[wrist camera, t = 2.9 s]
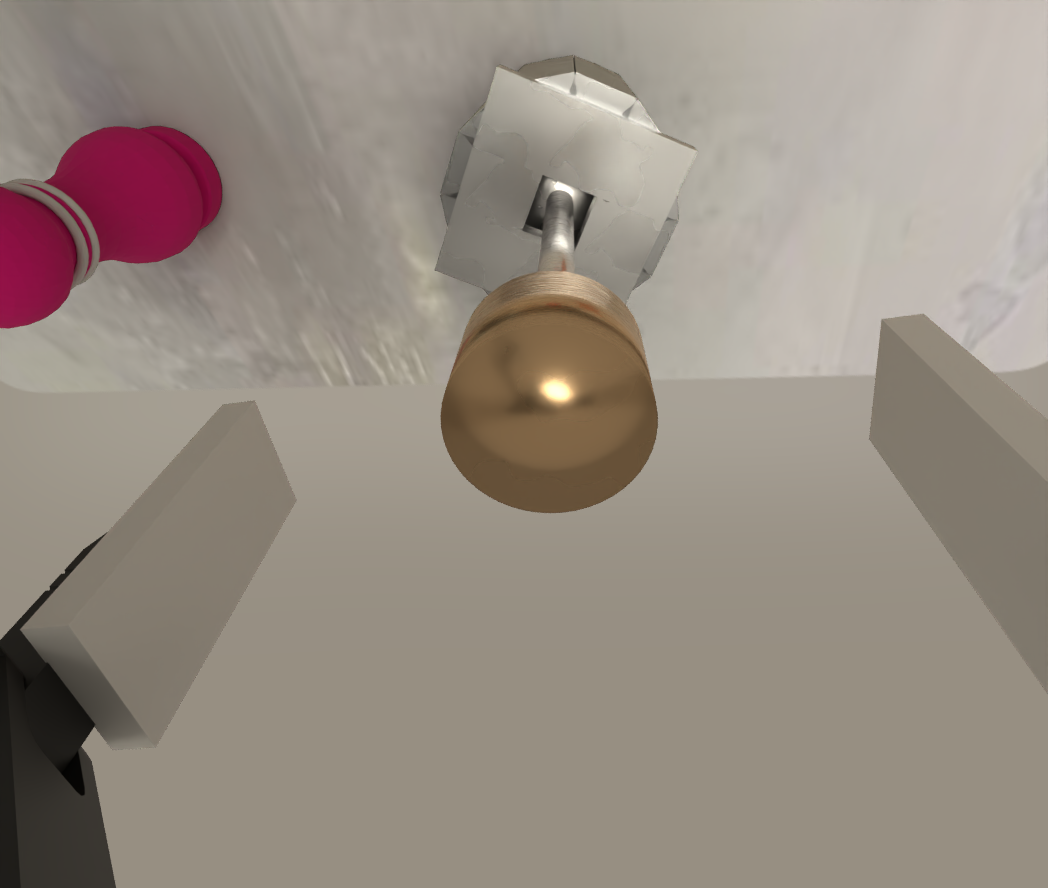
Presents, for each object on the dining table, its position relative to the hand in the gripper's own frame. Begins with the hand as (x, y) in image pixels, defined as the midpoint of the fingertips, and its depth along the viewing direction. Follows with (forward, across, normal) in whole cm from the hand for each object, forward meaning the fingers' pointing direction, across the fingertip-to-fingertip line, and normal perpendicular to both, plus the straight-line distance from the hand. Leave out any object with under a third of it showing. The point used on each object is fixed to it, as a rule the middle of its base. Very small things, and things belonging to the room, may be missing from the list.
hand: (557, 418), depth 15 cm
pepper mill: (+31, -24, +3) cm, 39 cm away
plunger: (+19, 0, 0) cm, 19 cm away
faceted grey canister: (+31, -1, -1) cm, 31 cm away
